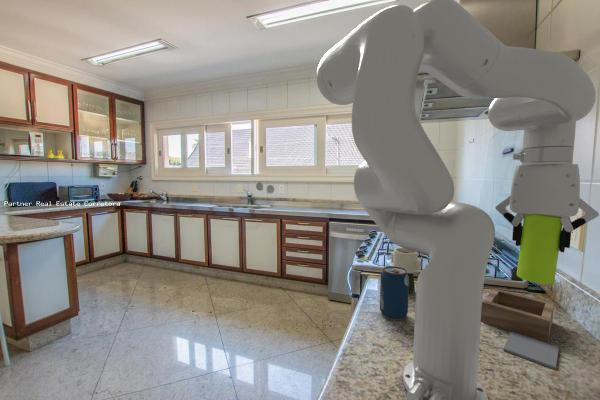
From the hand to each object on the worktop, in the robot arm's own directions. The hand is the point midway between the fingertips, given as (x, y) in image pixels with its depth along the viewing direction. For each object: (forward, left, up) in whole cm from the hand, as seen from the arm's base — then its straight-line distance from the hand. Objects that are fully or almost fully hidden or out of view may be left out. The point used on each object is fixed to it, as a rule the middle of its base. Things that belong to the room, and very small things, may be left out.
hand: (539, 246), depth 56 cm
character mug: (+10, +32, -22) cm, 40 cm away
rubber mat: (0, 0, -22) cm, 22 cm away
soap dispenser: (0, 0, -7) cm, 7 cm away
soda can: (-7, +27, -22) cm, 36 cm away
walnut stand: (+12, +4, -22) cm, 25 cm away
